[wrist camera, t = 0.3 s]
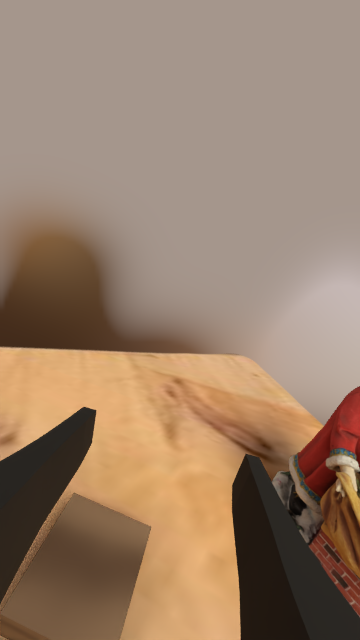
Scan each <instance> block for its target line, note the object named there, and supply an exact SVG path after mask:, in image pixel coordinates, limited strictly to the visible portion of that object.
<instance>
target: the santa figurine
mask: <svg viewBox="0 0 360 640" xmlns="http://www.w3.org/2000/svg"><path fill="white" fill-rule="evenodd" d="M289 470H290V472H284V471H279V472H278V473H277V474H276V476H275V477H274V479H273V481H272V484H273V485H274V487H275V489H276V491H277V493H278V495H279V497H280V499H281V500H282V502H283V504H284V506H285V507H286V509H287V511H288V513H289V515H290V516H291V518H292V520H293V521H294V523H295V525H296V527H297V528H298V530H299V531H300V533H301V535H302V536H303V538H304V540H305V541H306V543H307V544H308V546H309V547H310V549H311V550H312V552H313V553H314V555H315V556H316V558H317V559H318V561H319V562H320V564H321V565H322V567H323V568H324V570H325V571H326V572H327V574H328V575H329V577H330V578H331V579H332V581H333V582H334V584H335V585H336V586H337V588H338V589H339V590H340V592H341V593H342V594H343V596H344V597H345V598H346V600H347V601H348V602H349V604H350V605H351V606H352V608H353V609H354V610H355V612H356V613H357V614H358V615H359V617H360V386H359V387H357V388H355V389H354V390H353V391H351V392H350V393H349V394H348V395H347V396H346V397H345V398H344V400H343V401H342V402H341V404H340V405H339V406H338V407H337V409H336V410H335V412H334V413H333V414H332V416H331V417H330V419H329V420H328V421H327V423H326V424H325V426H324V427H323V428H322V429H321V430H320V431H319V432H318V433H317V435H316V436H315V437H314V438H313V439H312V441H311V442H309V443H308V444H307V445H306V447H305V448H304V449H303V450H302V451H301V452H299V453H297V454H296V455H293V456H291V457H290V459H289Z"/></svg>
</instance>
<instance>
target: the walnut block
mask: <svg viewBox="0 0 360 640" xmlns="http://www.w3.org/2000/svg"><path fill="white" fill-rule="evenodd" d="M150 530H151V527H150V526H148V525H146V524H143V523H141V522H139V521H137V520H134V519H132V518H130V517H128V516H125V515H123V514H121V513H119V512H116V511H114V510H112V509H109V508H107V507H105V506H103V505H100V504H98V503H96V502H94V501H91V500H89V499H87V498H85V497H82V496H80V495H78V494H76V493H74V494H73V495H72V497H71V499H70V500H69V502H68V503H67V505H66V507H65V508H64V510H63V512H62V513H61V515H60V516H59V518H58V520H57V521H56V523H55V525H54V526H53V528H52V529H51V531H50V533H49V534H48V536H47V538H46V539H45V541H44V543H43V544H42V546H41V547H40V549H39V551H38V552H37V554H36V556H35V557H34V559H33V560H32V562H31V564H30V565H29V567H28V569H27V570H26V572H25V573H24V575H23V577H22V578H21V580H20V582H19V583H18V585H17V586H16V588H15V590H14V591H13V593H12V595H11V596H10V598H9V600H8V601H7V603H6V604H5V606H4V608H3V609H2V611H1V613H0V635H1V636H3V637H5V638H7V639H9V640H120V636H121V633H122V629H123V626H124V622H125V619H126V615H127V612H128V608H129V604H130V601H131V597H132V594H133V590H134V587H135V583H136V580H137V576H138V573H139V569H140V565H141V562H142V558H143V555H144V551H145V548H146V544H147V541H148V537H149V534H150Z"/></svg>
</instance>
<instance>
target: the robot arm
mask: <svg viewBox="0 0 360 640" xmlns="http://www.w3.org/2000/svg"><path fill="white" fill-rule="evenodd" d="M95 417H96V410H93V409H90V408H86V407H83V408H81V409H80V410H79V411H77V412H76V413H74V414H73V415H72V416H70V417H69V418H68V419H66V420H65V421H63V422H62V423H61V424H59V425H58V426H56V427H55V428H53V429H52V430H50V431H49V432H48V433H46V434H45V435H43V436H42V437H40V438H39V439H37V440H35V441H34V442H32V443H30V444H29V445H27V446H26V447H24V448H22V449H21V450H19V451H17V452H16V453H14V454H12V455H11V456H9V457H7V458H5V459H3V460H1V461H0V603H1V601H2V599H3V597H4V595H5V593H6V591H7V590H8V588H9V586H10V584H11V582H12V580H13V578H14V576H15V574H16V573H17V571H18V569H19V567H20V565H21V563H22V561H23V559H24V557H25V556H26V554H27V552H28V550H29V548H30V546H31V545H32V543H33V541H34V539H35V537H36V535H37V534H38V532H39V530H40V528H41V526H42V525H43V523H44V522H45V520H46V518H47V517H48V515H49V513H50V512H51V510H52V509H53V507H54V506H55V504H56V503H57V501H58V499H59V498H60V496H61V495H62V493H63V492H64V490H65V489H66V487H67V486H68V484H69V482H70V481H71V479H72V478H73V476H74V475H75V473H76V472H77V470H78V468H79V467H80V465H81V463H82V461H83V459H84V457H85V456H86V454H87V452H88V450H89V448H90V446H91V444H92V438H93V431H94V424H95ZM232 514H233V525H234V536H235V546H236V556H237V566H238V576H239V590H240V624H241V640H360V617H359V615H358V614H357V613H356V612H355V610H354V609H353V608H352V606H351V605H350V604H349V602H348V601H347V600H346V598H345V597H344V596H343V594H342V593H341V592H340V590H339V589H338V588H337V586H336V585H335V584H334V582H333V581H332V579H331V578H330V577H329V575H328V574H327V572H326V571H325V570H324V568H323V567H322V565H321V564H320V562H319V561H318V559H317V558H316V556H315V555H314V553H313V552H312V550H311V549H310V547H309V546H308V544H307V543H306V541H305V540H304V538H303V536H302V535H301V533H300V531H299V530H298V528H297V527H296V525H295V523H294V521H293V520H292V518H291V516H290V515H289V513H288V511H287V509H286V507H285V506H284V504H283V502H282V500H281V499H280V497H279V495H278V493H277V491H276V489H275V487H274V485H273V484H272V482H271V480H270V478H269V476H268V474H267V472H266V470H265V468H264V466H263V464H262V462H261V460H260V459H259V457H255V456H252V455H248V454H246V455H245V457H244V459H243V462H242V464H241V466H240V468H239V471H238V473H237V475H236V478H235V480H234V482H233V485H232Z"/></svg>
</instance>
